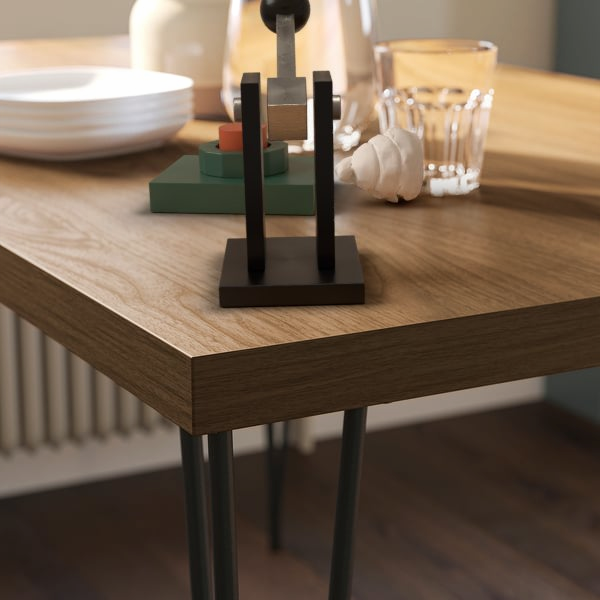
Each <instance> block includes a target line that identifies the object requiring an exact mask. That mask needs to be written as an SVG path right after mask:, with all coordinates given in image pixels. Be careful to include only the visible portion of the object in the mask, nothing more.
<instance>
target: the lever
mask: <svg viewBox="0 0 600 600" xmlns="http://www.w3.org/2000/svg"><path fill="white" fill-rule="evenodd" d="M259 16H260V19H261V21H262V23H263V24H264V26H265V28H266V29H268V30H269V31H270V32H271V33H273V34H275V35H276V77H267V78H266V114H267V115H266V117H267V138H268V140H269V141H284V142H287V141H292V142H293V141H308V140H309V135H308V133H309V131H308V130H309V129H308V95H307V94H308V92H307V76H297V63H296V62H297V61H296V34H297V33H299V32H301V31H302V30H303V29H304V28H305V26H306V25H307V24H308V22H309V21H310V20H309V19H310V18H311V2H310V0H260V4H259Z"/></svg>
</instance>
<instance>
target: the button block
mask: <svg viewBox="0 0 600 600" xmlns="http://www.w3.org/2000/svg"><path fill="white" fill-rule="evenodd" d="M267 146H268V148H264V149H263V166H264V196H265V215H285V216H287V215H291V216H293V215H294V216H297V215H298V216H315V172H314V155H313V156H312V155H289V143H288V142H287V141H269V140H268V137H267ZM148 193H149V194H148V195H149V208H150V210H149V211H150V213H178V214H179V213H180V214H230V215H231V214H232V215H233V214H235V215H236V214H237V215H240V214H241V215H245V193H244V168H243V151H227V150H221V149H219V139H215V140H210V141H206V142H203V143H202V144H201V145H199V146H198V155H197V154H183V155H182V156H181V157H179V158H178V159H176V160H175V161H174V162H173V163H172V164H171V165H169V166H168V167H166V168H165V170H163V171H162V172H161V173H159V174H158V175H157V176H155V177H154V178H153V179H152V180H150V181H149V182H148Z"/></svg>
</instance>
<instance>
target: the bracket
mask: <svg viewBox="0 0 600 600" xmlns="http://www.w3.org/2000/svg"><path fill="white" fill-rule="evenodd" d="M261 80H262V79H261V72H260V71H259V72H258V71H255V72H252V71H251V72H243V73H242V76H241V81H240V83H239V89H240V90H239V91H240V97H238V96H237V97H233V100H232V107H233V109H232V111H233V123H242V142H243V168H244V193H245V214H244V216H245V217H244V218H245V237H233V238H232V237H231V238H230V237H229V238H227V239H226V244H225V249H224V255H223V261H222V266H221V272H220V276H219V277H220V278H219V284H218V303H219V304H218V305H219V308H233V307H234V308H235V307H237V308H238V307H273V306H274V307H275V306H311V305H312V306H313V305H349V304H351V305H353V304H354V305H356V304H365V303H366V283H365V278H364V273H363V268H362V263H361V259H360V254H359V250H358V249H359V248H358V244H357V240H356V235H354V234H349V235H347V234H345V235H336V220H335V219H336V218H335V217H336V216H335V215H336V213H335V211H336V210H335V151H334V149H335V148H334V147H335V145H334V143H335V140H334V139H335V138H334V121H341V119H342V98H341V94H334V82H333V78H332V74H331V71H330V70H312V113H313V156H314V172H315V213H314V217H315V219H314V220H315V235H310V236H309V235H308V236H306V235H304V236H272V237H271V236H270V237H269V236H268V237H267V228H266V214H265V196H264V166H263V137H262V124H263V113H262V112H263V111H262V109H263V108H262V84H261V83H262V81H261Z"/></svg>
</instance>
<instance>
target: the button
mask: <svg viewBox="0 0 600 600" xmlns="http://www.w3.org/2000/svg"><path fill="white" fill-rule="evenodd" d="M262 137H263V149H264V148H268V146H267V138H268V125H267V124H265V123H262ZM218 140H219V149H221V150H227V151H243V142H242V123H235V122H230V123H226V124H222V125H219V126H218Z"/></svg>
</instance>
